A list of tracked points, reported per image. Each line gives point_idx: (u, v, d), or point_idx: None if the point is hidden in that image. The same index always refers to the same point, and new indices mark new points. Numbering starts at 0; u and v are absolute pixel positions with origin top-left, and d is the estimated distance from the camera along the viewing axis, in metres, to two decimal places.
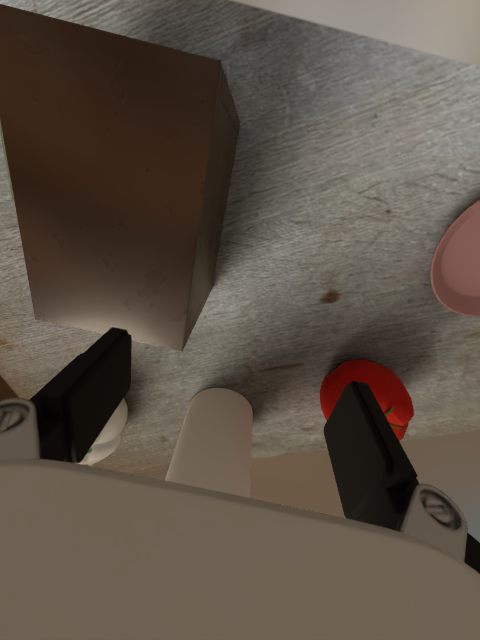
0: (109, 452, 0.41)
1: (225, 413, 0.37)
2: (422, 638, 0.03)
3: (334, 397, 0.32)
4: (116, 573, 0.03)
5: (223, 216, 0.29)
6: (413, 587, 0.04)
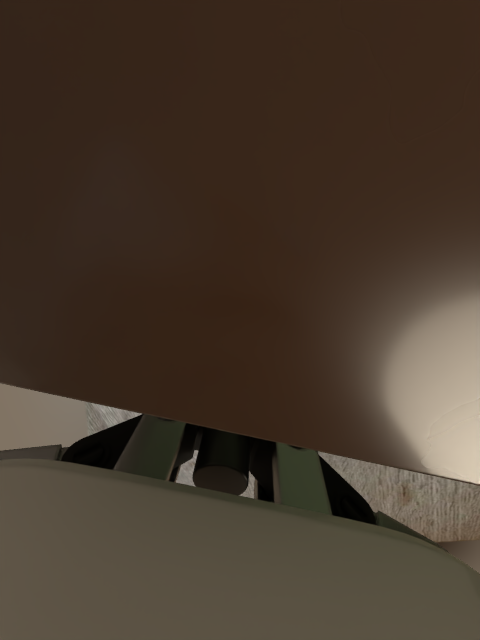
0: None
1: None
2: (422, 638, 0.03)
3: None
4: (115, 572, 0.03)
5: None
6: (413, 587, 0.04)
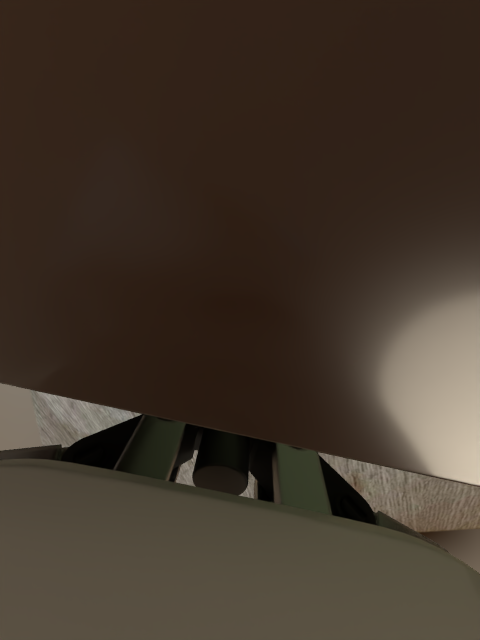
0: None
1: None
2: (422, 638, 0.03)
3: None
4: (115, 572, 0.03)
5: None
6: (413, 587, 0.04)
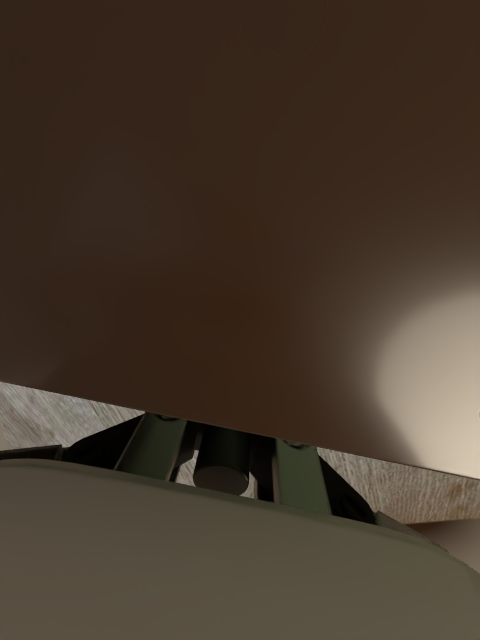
0: None
1: None
2: (422, 638, 0.03)
3: None
4: (115, 573, 0.03)
5: None
6: (413, 587, 0.04)
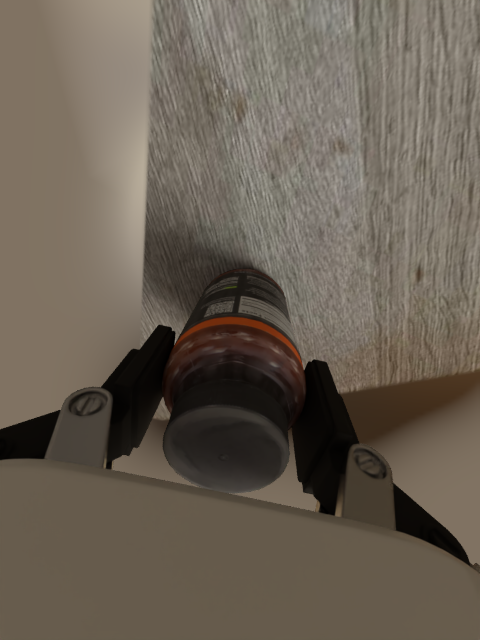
0: None
1: None
2: (422, 638, 0.03)
3: None
4: (116, 572, 0.03)
5: None
6: (413, 587, 0.04)
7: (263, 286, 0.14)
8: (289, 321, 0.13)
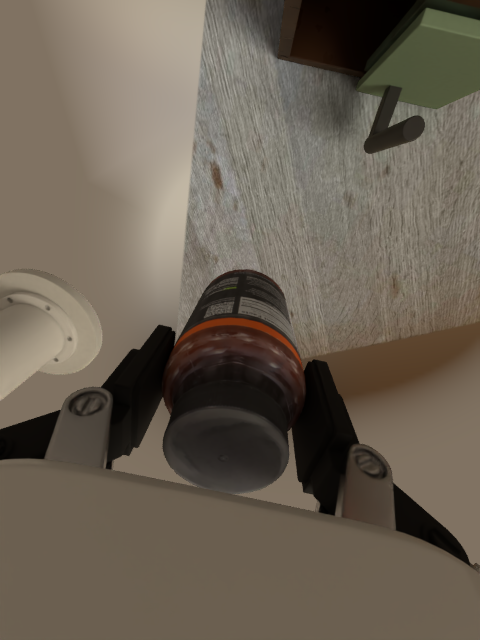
0: None
1: None
2: (422, 638, 0.03)
3: None
4: (115, 574, 0.03)
5: None
6: (413, 587, 0.04)
7: (262, 286, 0.14)
8: (289, 322, 0.13)
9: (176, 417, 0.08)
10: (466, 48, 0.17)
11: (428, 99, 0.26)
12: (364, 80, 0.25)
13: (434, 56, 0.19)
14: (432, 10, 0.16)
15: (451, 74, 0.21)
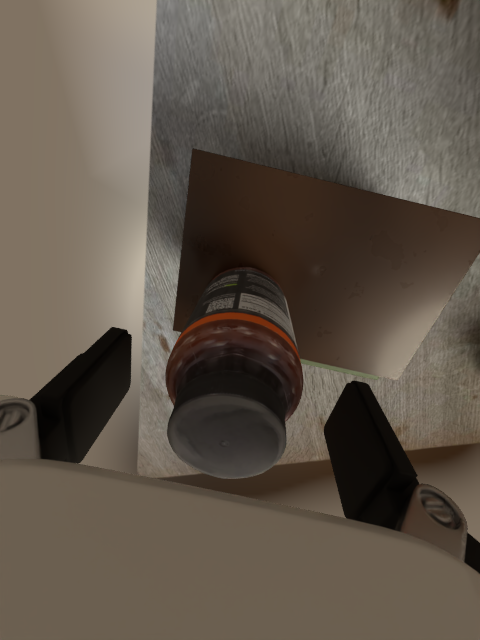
0: None
1: None
2: (422, 638, 0.03)
3: None
4: (115, 573, 0.03)
5: None
6: (413, 587, 0.04)
7: (262, 283, 0.14)
8: (287, 317, 0.13)
9: (180, 404, 0.08)
10: None
11: None
12: None
13: None
14: None
15: None
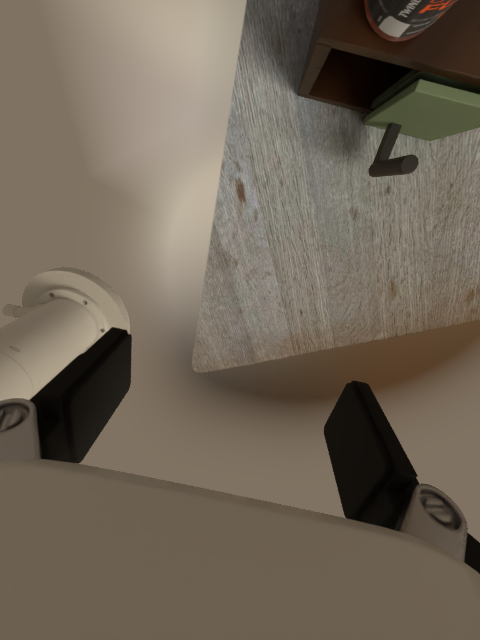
0: None
1: None
2: (422, 638, 0.03)
3: None
4: (115, 572, 0.03)
5: None
6: (413, 587, 0.04)
7: None
8: None
9: None
10: (451, 106, 0.22)
11: (423, 134, 0.31)
12: (370, 117, 0.30)
13: (426, 109, 0.24)
14: (424, 81, 0.21)
15: (441, 120, 0.26)
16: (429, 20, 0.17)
